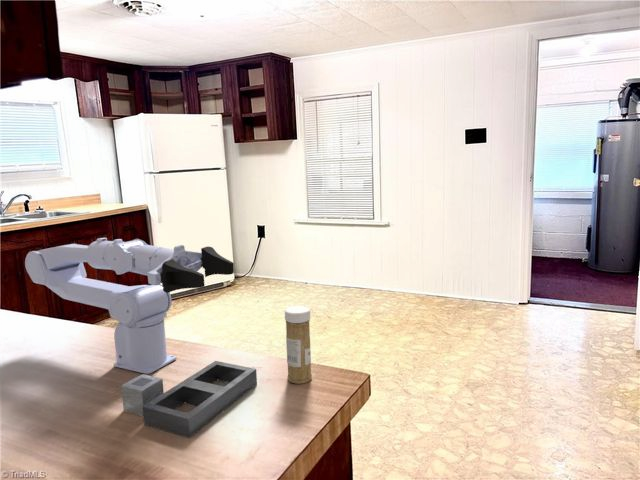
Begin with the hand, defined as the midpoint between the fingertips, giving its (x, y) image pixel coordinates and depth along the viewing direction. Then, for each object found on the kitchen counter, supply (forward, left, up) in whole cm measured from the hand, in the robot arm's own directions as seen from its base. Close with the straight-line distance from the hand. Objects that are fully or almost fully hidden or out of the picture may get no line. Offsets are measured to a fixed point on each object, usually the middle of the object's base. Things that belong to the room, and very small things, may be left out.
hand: (218, 274), depth 82 cm
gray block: (-8, -12, -21) cm, 25 cm away
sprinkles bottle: (+11, +7, -21) cm, 25 cm away
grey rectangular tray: (+1, -7, -21) cm, 22 cm away
